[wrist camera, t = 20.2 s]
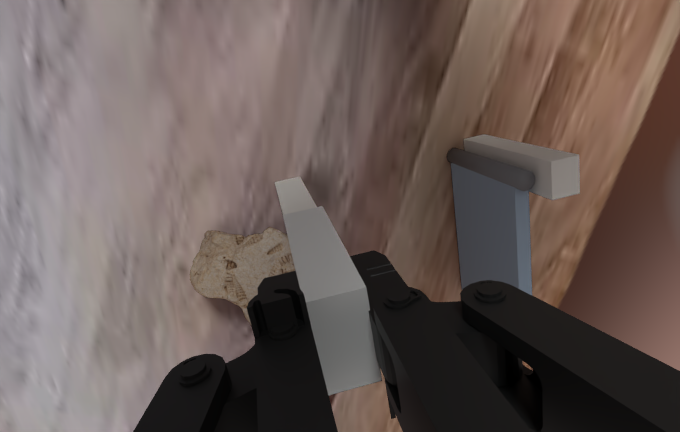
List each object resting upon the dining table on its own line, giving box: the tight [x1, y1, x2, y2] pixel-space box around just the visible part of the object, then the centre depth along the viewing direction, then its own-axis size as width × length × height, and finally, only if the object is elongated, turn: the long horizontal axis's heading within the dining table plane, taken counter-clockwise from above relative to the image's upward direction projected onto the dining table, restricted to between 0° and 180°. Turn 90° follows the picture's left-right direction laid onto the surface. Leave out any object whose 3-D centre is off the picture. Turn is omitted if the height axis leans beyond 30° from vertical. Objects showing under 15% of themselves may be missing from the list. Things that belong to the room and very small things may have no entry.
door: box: [447, 148, 535, 295], centre depth 42 cm, size 3×16×13 cm, turn 10°
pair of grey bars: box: [275, 134, 580, 215], centre depth 38 cm, size 3×22×14 cm, turn 101°
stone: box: [190, 227, 295, 325], centre depth 42 cm, size 9×11×5 cm
